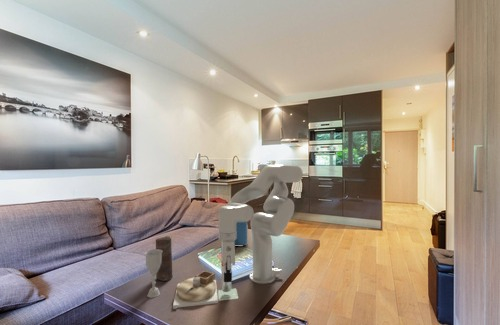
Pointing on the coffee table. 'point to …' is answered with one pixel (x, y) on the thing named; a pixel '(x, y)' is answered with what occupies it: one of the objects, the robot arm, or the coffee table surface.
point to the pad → (227, 295)
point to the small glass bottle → (225, 285)
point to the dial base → (182, 303)
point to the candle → (165, 258)
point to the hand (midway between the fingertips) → (227, 278)
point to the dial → (197, 287)
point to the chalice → (153, 268)
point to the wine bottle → (241, 233)
